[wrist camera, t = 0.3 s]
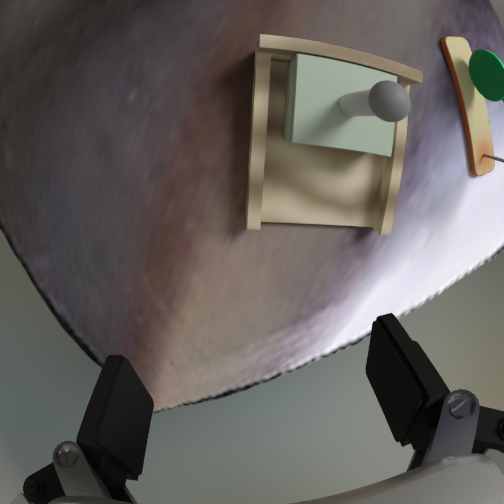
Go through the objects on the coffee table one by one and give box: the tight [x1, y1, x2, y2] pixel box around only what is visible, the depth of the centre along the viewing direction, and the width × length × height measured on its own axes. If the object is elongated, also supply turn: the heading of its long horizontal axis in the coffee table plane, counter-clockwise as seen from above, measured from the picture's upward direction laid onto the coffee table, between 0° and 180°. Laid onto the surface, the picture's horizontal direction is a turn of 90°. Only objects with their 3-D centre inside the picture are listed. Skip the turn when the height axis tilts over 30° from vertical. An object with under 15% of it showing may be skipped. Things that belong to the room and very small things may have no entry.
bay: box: [246, 34, 422, 235], centre depth 32 cm, size 23×20×7 cm
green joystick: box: [283, 54, 411, 157], centre depth 24 cm, size 10×12×17 cm
